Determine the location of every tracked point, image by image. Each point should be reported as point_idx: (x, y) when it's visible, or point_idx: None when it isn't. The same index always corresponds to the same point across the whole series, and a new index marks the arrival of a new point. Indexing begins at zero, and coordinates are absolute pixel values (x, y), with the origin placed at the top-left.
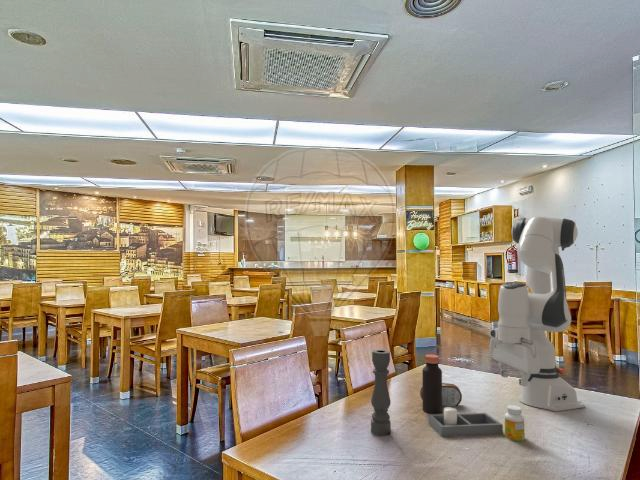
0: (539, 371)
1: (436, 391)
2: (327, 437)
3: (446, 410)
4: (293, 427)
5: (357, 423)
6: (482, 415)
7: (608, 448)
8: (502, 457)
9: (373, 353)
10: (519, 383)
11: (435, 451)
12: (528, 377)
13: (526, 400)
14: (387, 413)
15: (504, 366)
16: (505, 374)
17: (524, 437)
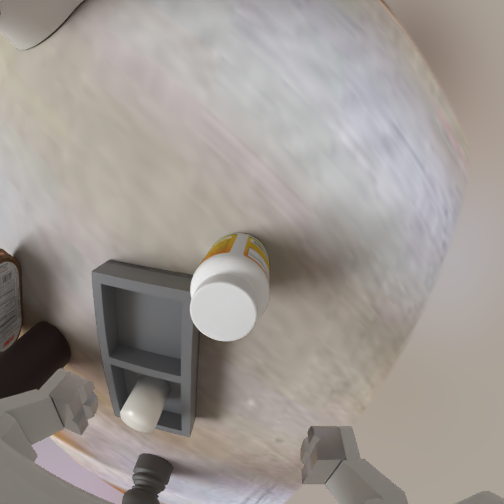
0: (502, 498)
1: (36, 386)
2: (174, 498)
3: (145, 431)
4: None
5: (123, 464)
6: (104, 287)
7: (363, 27)
8: (320, 364)
9: None
10: (306, 458)
11: (248, 447)
12: (382, 481)
13: (33, 38)
14: (150, 485)
15: (24, 419)
16: (83, 406)
17: (261, 246)
